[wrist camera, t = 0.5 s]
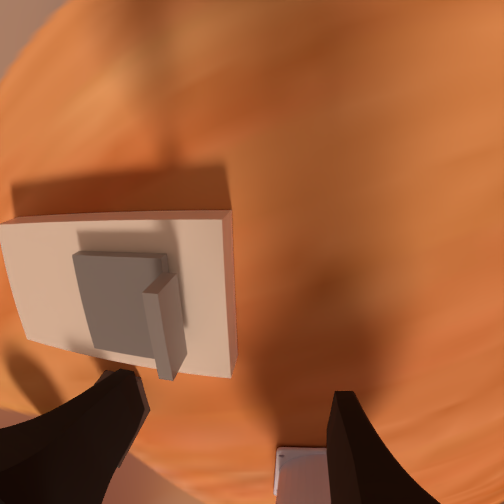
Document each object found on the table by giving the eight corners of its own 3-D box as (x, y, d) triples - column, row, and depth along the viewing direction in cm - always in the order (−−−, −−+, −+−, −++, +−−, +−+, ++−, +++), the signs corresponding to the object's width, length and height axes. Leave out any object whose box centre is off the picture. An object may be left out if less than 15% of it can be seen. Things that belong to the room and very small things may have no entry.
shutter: (192, 356, 18) (175, 391, 15) (100, 341, 19) (74, 369, 16) (180, 253, 16) (155, 278, 13) (79, 250, 17) (45, 269, 14)
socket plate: (238, 355, 21) (231, 378, 19) (43, 325, 24) (27, 339, 21) (231, 210, 18) (221, 219, 16) (18, 217, 21) (-3, 224, 18)
